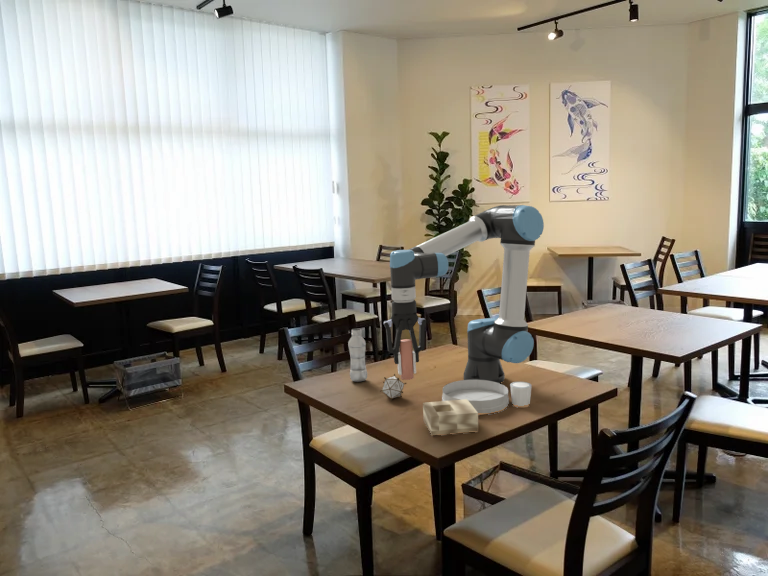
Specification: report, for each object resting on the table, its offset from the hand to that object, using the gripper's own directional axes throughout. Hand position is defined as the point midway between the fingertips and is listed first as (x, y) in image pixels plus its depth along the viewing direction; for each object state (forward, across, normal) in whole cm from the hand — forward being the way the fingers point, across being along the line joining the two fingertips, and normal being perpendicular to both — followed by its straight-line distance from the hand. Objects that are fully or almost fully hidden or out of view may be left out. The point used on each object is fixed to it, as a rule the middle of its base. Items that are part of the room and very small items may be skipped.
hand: (407, 372), depth 193 cm
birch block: (+14, +10, -12) cm, 21 cm away
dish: (+15, +24, +6) cm, 28 cm away
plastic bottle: (+14, -12, +39) cm, 43 cm away
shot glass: (+15, +38, +1) cm, 40 cm away
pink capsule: (+2, 0, 0) cm, 2 cm away
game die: (+14, -2, +17) cm, 22 cm away
